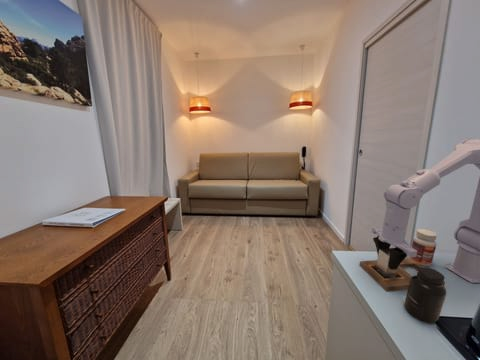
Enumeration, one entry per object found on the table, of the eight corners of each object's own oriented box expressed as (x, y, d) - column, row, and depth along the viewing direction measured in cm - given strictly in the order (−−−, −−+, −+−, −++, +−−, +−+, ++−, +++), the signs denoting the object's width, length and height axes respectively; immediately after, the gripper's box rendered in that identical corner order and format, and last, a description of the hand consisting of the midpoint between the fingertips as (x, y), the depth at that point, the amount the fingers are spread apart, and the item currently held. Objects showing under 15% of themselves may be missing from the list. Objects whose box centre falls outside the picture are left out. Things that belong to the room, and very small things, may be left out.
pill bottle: (423, 267, 72) (430, 237, 69) (405, 257, 78) (411, 229, 75) (435, 264, 74) (443, 235, 71) (416, 254, 79) (423, 227, 77)
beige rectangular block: (387, 267, 69) (390, 248, 68) (397, 275, 66) (401, 255, 64) (375, 268, 69) (379, 249, 67) (385, 276, 65) (389, 256, 63)
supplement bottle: (399, 309, 55) (408, 270, 52) (409, 298, 59) (418, 260, 56) (433, 329, 50) (446, 286, 47) (441, 315, 54) (453, 274, 51)
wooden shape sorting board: (408, 261, 75) (409, 257, 75) (444, 286, 63) (445, 281, 63) (359, 265, 73) (360, 260, 72) (386, 291, 61) (387, 286, 61)
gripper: (366, 215, 70) (360, 251, 73) (404, 237, 56) (394, 281, 59) (385, 214, 71) (378, 250, 74) (427, 235, 57) (417, 279, 60)
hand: (387, 264), depth 67 cm, fingers closed on beige rectangular block, 4 cm apart
